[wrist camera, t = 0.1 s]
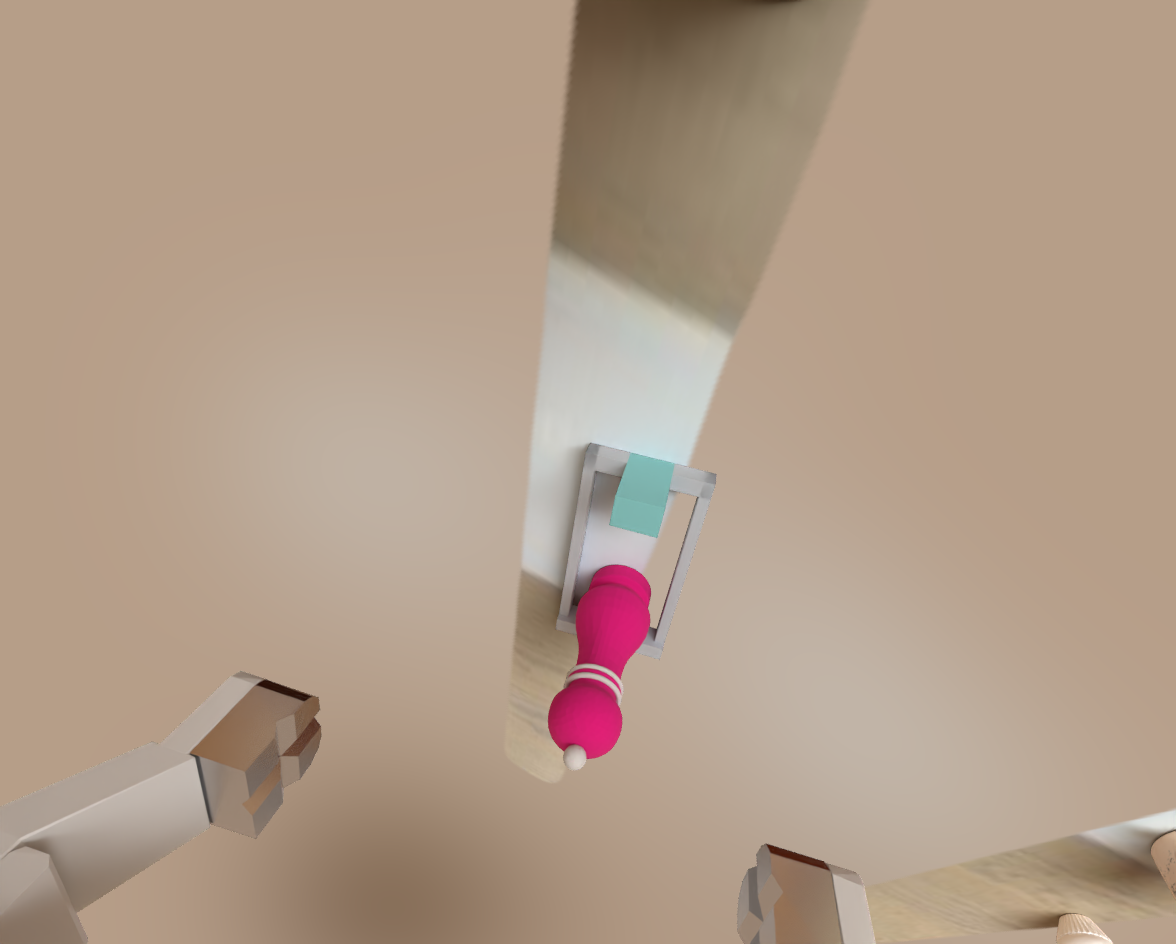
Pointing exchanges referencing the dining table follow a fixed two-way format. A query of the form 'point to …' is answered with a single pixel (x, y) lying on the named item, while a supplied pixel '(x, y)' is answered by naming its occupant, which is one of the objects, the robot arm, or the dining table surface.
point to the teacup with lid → (1166, 859)
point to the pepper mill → (600, 664)
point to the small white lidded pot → (1079, 931)
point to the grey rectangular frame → (637, 522)
